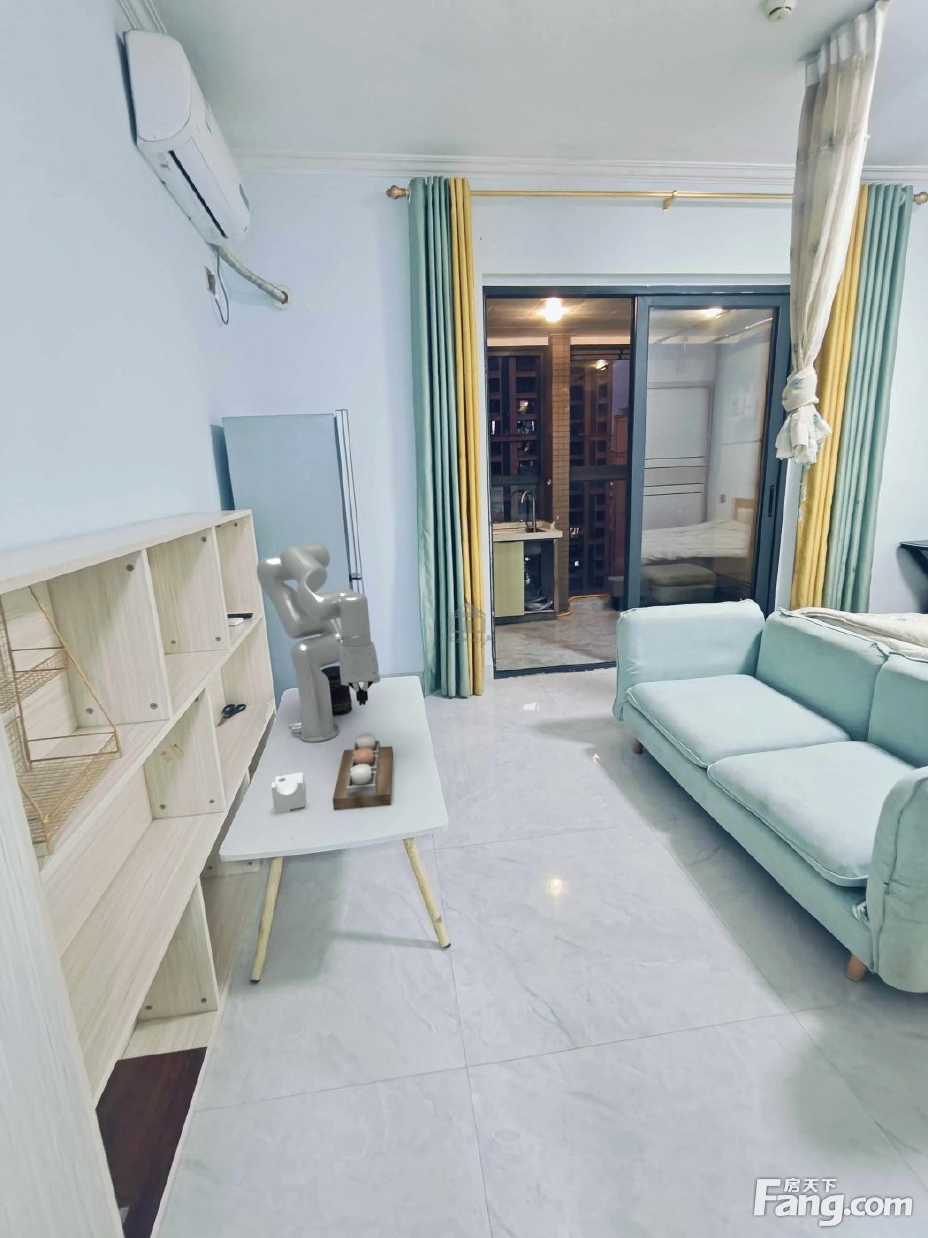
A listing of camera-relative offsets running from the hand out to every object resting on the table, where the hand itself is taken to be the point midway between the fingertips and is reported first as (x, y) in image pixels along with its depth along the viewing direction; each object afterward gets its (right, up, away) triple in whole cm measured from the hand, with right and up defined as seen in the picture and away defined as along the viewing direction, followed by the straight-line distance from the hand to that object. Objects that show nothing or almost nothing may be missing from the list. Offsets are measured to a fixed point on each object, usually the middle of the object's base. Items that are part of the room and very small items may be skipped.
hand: (362, 703), depth 159 cm
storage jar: (-16, -9, +43) cm, 47 cm away
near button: (+2, -17, -14) cm, 22 cm away
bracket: (-17, -23, -11) cm, 31 cm away
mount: (+2, -20, -4) cm, 21 cm away
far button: (0, -13, +3) cm, 13 cm away
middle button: (+1, -15, -5) cm, 16 cm away
